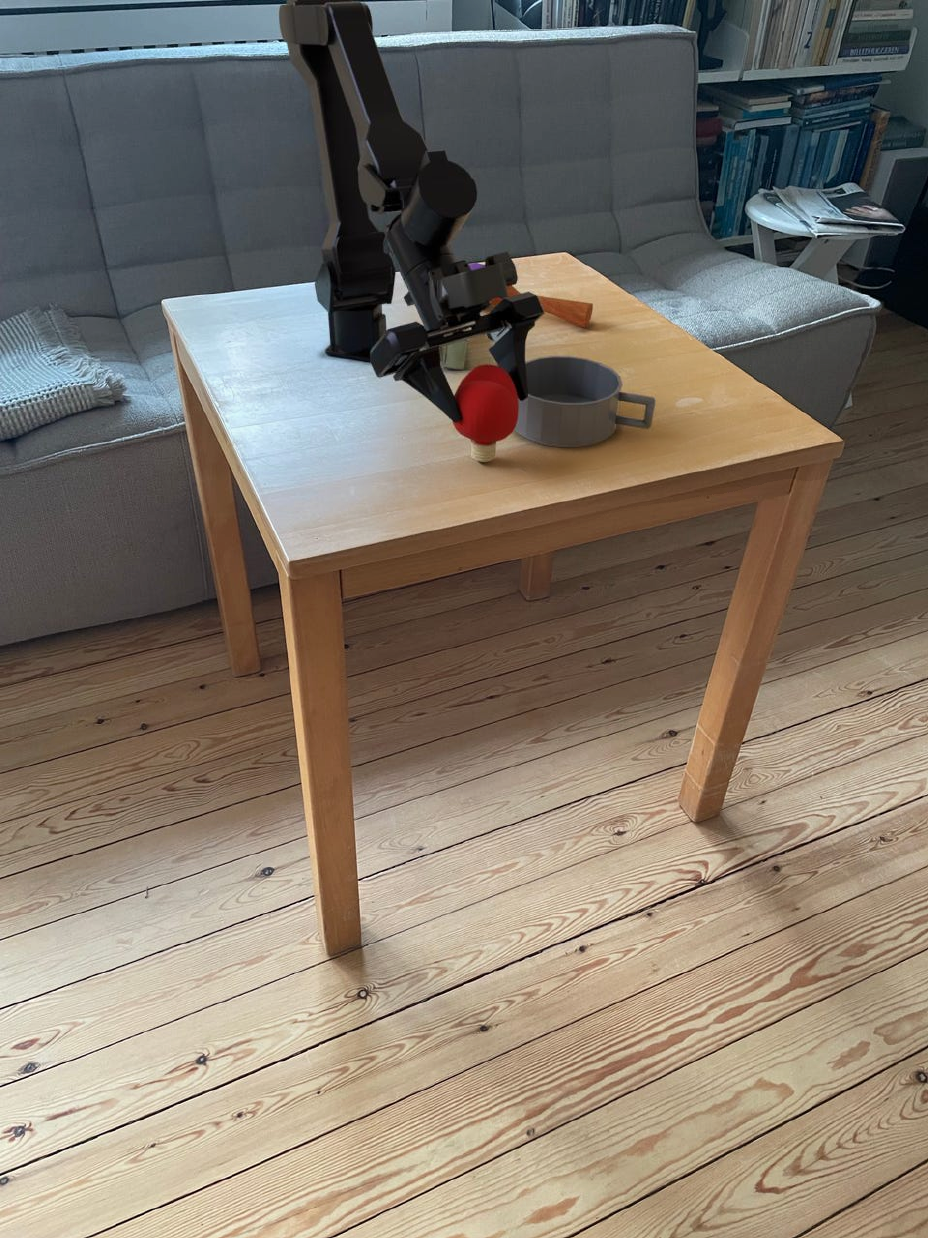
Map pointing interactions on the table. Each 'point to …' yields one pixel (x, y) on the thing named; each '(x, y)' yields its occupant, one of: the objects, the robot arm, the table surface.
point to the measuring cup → (575, 402)
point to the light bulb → (486, 409)
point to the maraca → (554, 305)
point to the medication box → (455, 355)
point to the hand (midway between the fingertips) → (492, 410)
